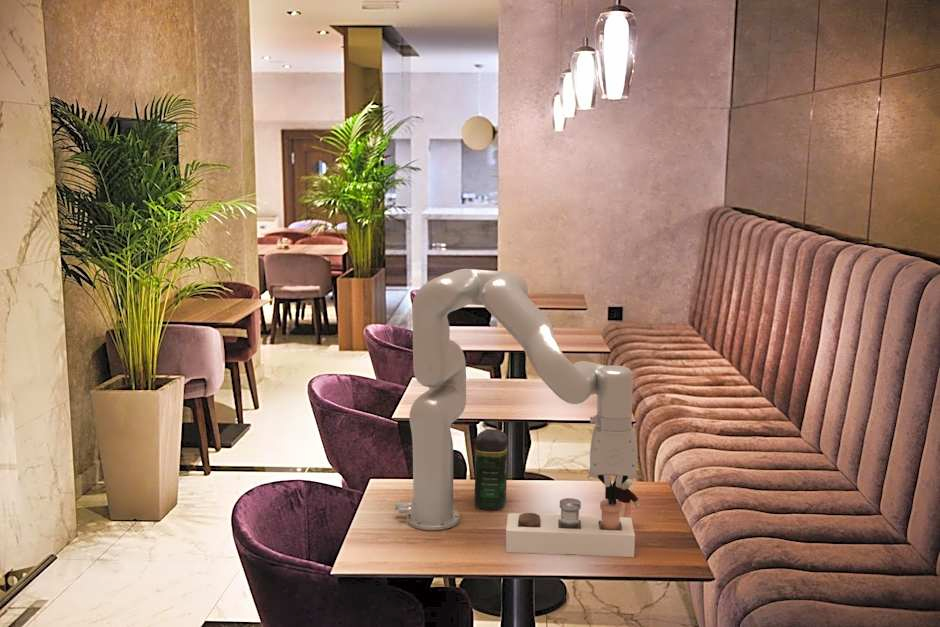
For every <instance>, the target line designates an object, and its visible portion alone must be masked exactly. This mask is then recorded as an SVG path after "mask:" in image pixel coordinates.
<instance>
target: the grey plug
mask: <svg viewBox="0 0 940 627" xmlns="http://www.w3.org/2000/svg"><path fill="white" fill-rule="evenodd" d="M581 507H582V501H581V500H579V499H576V498H573V497H572V498H571V497H570V498H569V497H568V498H566V497H565V498H562V499H559V509H560V515H561V528H566V529H579V516H580V510H581Z"/></svg>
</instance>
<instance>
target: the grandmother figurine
mask: <svg viewBox="0 0 940 627" xmlns="http://www.w3.org/2000/svg"><path fill="white" fill-rule="evenodd" d="M633 484H634V482H633V480H632V479H627V480H626V481H625V482H624V483H623V484H622V485H621V486H620V489H619V500H618V499H616V501H619V502H621V503H622V510H621V511H620V517H625V518H632V505H631V502H632V503H634V505H635V508H636V509H639V508H641V505H640V502H639V498H638V497H637V495H636V494H635V493H634V492H633V491H631V490H630V489H629V488H630V487H631V486H632V485H633Z"/></svg>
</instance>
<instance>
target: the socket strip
mask: <svg viewBox="0 0 940 627" xmlns="http://www.w3.org/2000/svg"><path fill="white" fill-rule="evenodd" d="M521 514H522V513H515V512H513V513H512V512H511V513H507V520H506V527H505V528H506V529H505V530H506V531H505V553H518V554H519V553H523V554H540V553H541V554H542V555H543V554H546V555H565V554H575V555H574V556H590V555H592V557H593V556H595V557H619V558H620V557H621V558H622V557H623V558H635V542H636V540H635V539H636V535H635V530H634V525H633V521H632V517H630V518H625V517H620V522H619V530H601V518H602V516H595V515H593V516H592V515H579V529H566V528H561V514H541V513H540V514H537V513H536V514H537V515H539V516H540V523H539V524H538V527H520V523H519V515H521Z"/></svg>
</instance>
